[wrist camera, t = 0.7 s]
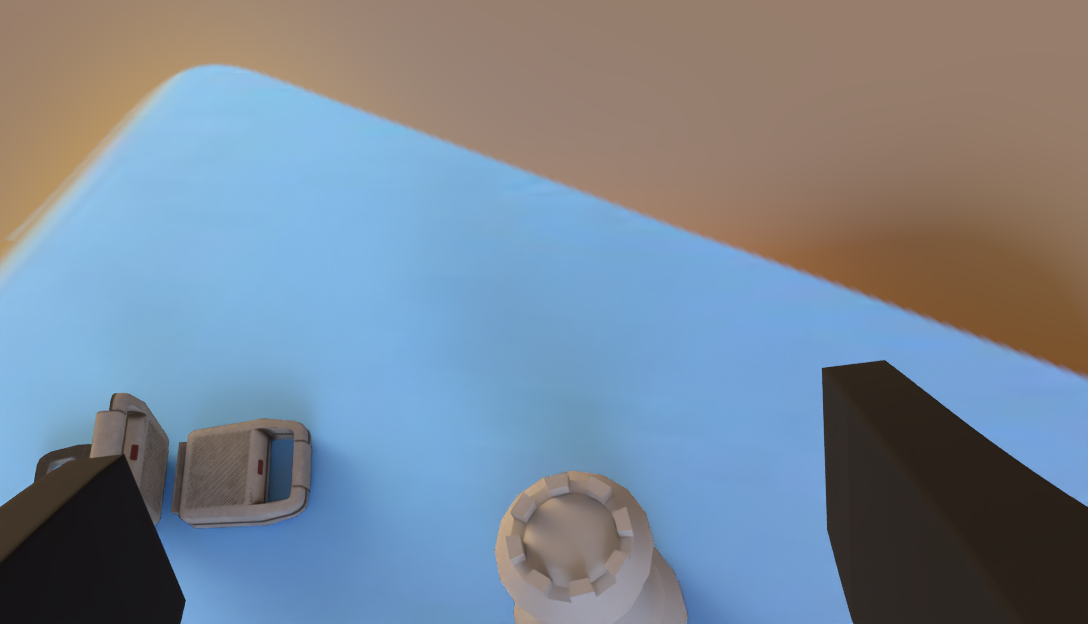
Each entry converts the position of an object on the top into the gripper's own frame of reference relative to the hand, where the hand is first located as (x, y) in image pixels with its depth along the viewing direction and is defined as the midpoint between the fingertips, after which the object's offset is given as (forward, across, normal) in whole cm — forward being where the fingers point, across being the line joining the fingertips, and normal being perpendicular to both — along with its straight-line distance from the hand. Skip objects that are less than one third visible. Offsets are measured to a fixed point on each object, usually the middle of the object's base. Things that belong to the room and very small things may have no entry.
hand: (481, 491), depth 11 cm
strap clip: (+16, +12, +11) cm, 23 cm away
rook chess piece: (+12, 0, +14) cm, 18 cm away
